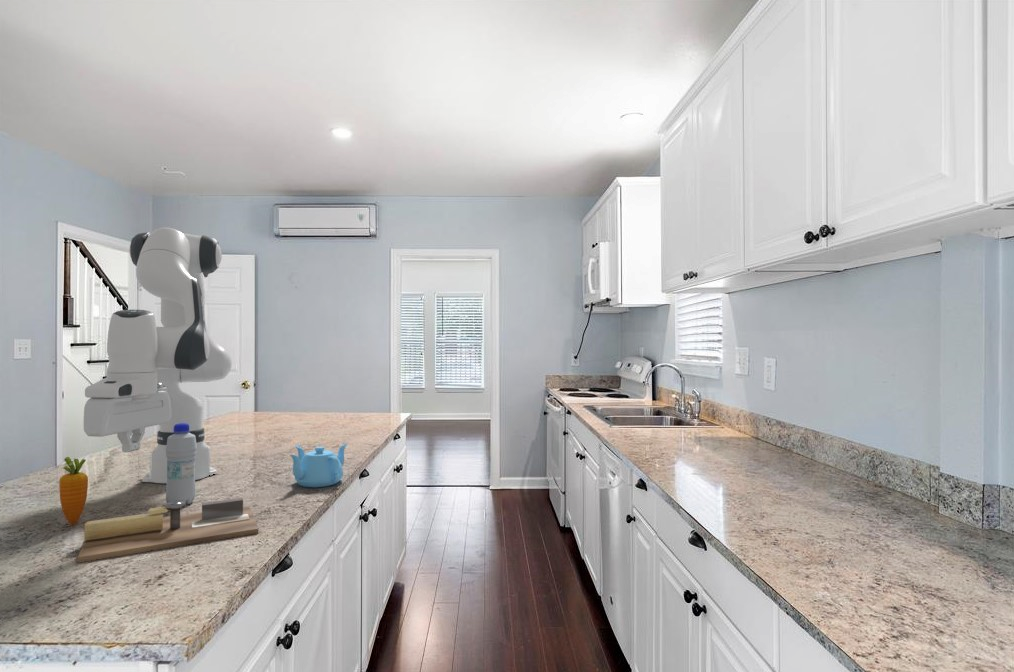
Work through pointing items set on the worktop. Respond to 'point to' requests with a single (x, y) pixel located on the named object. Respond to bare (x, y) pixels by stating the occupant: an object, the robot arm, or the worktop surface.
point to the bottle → (181, 464)
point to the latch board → (178, 531)
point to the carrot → (73, 491)
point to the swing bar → (130, 523)
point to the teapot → (318, 467)
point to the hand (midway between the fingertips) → (131, 451)
